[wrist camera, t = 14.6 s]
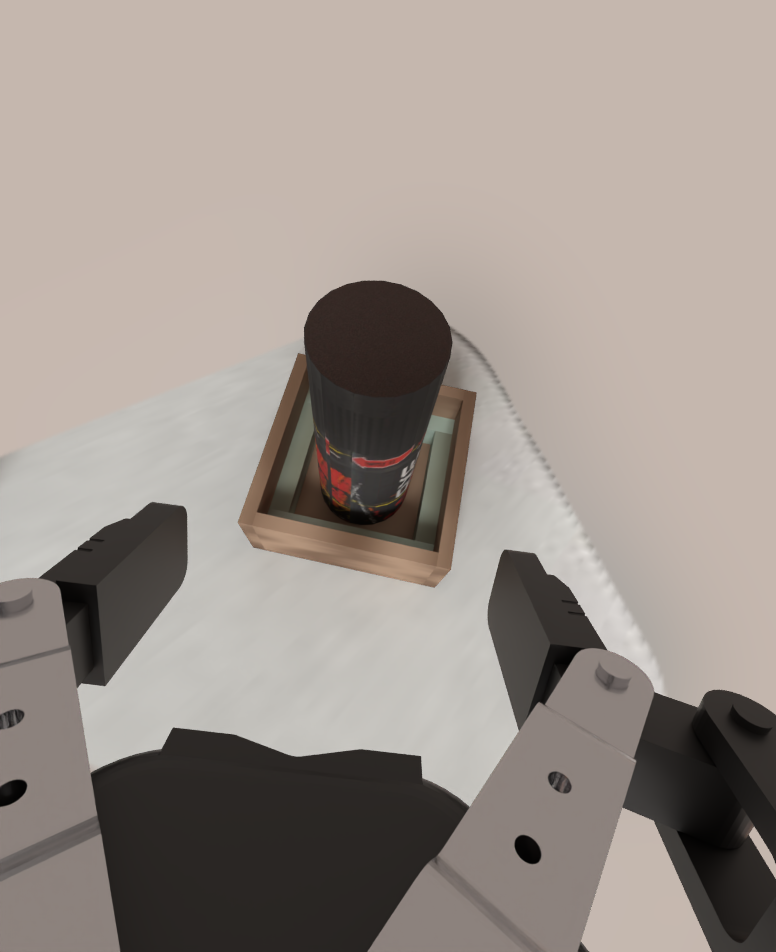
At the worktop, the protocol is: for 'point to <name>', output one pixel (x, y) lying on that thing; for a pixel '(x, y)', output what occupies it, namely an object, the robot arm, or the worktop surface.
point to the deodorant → (372, 392)
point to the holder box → (346, 544)
